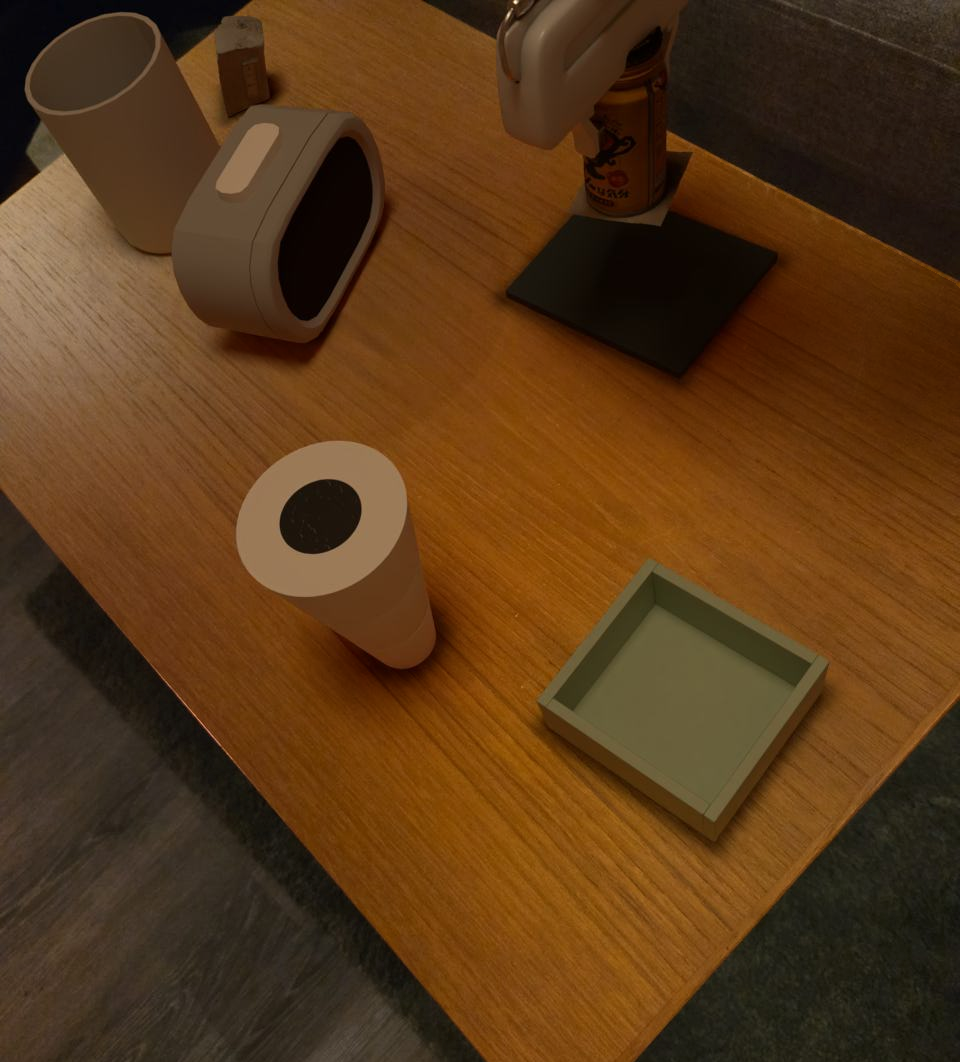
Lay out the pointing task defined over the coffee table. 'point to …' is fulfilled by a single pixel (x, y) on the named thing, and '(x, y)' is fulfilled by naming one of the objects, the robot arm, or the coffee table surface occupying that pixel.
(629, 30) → the robot arm
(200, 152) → the cup
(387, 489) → the cup
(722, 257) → the mat
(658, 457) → the coffee table surface
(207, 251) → the alarm clock
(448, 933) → the coffee table surface
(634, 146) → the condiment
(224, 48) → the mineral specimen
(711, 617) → the tray
